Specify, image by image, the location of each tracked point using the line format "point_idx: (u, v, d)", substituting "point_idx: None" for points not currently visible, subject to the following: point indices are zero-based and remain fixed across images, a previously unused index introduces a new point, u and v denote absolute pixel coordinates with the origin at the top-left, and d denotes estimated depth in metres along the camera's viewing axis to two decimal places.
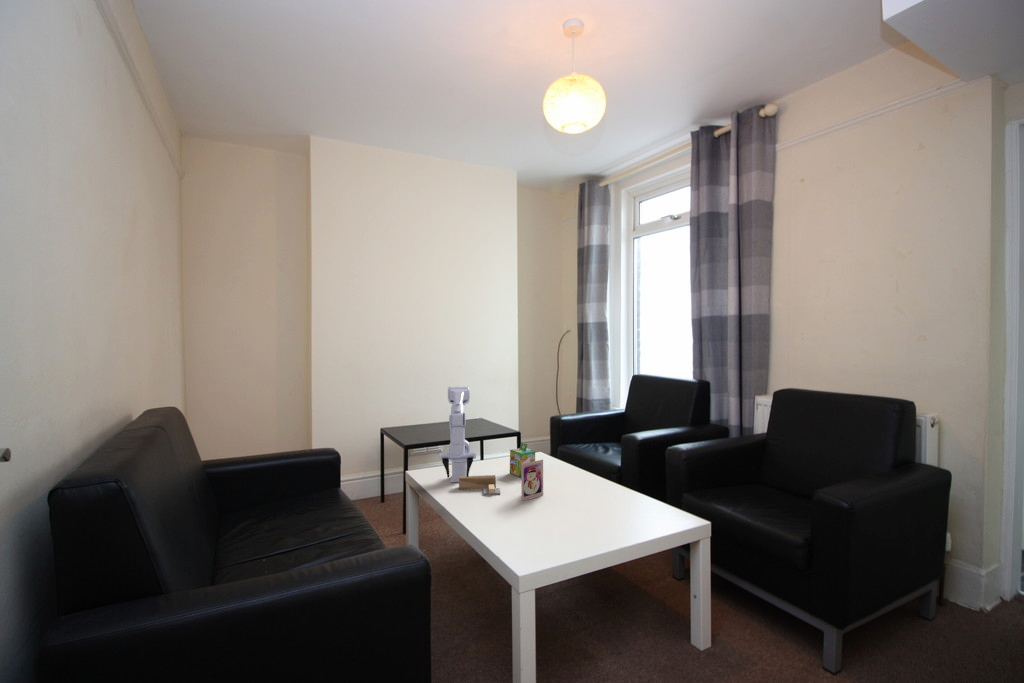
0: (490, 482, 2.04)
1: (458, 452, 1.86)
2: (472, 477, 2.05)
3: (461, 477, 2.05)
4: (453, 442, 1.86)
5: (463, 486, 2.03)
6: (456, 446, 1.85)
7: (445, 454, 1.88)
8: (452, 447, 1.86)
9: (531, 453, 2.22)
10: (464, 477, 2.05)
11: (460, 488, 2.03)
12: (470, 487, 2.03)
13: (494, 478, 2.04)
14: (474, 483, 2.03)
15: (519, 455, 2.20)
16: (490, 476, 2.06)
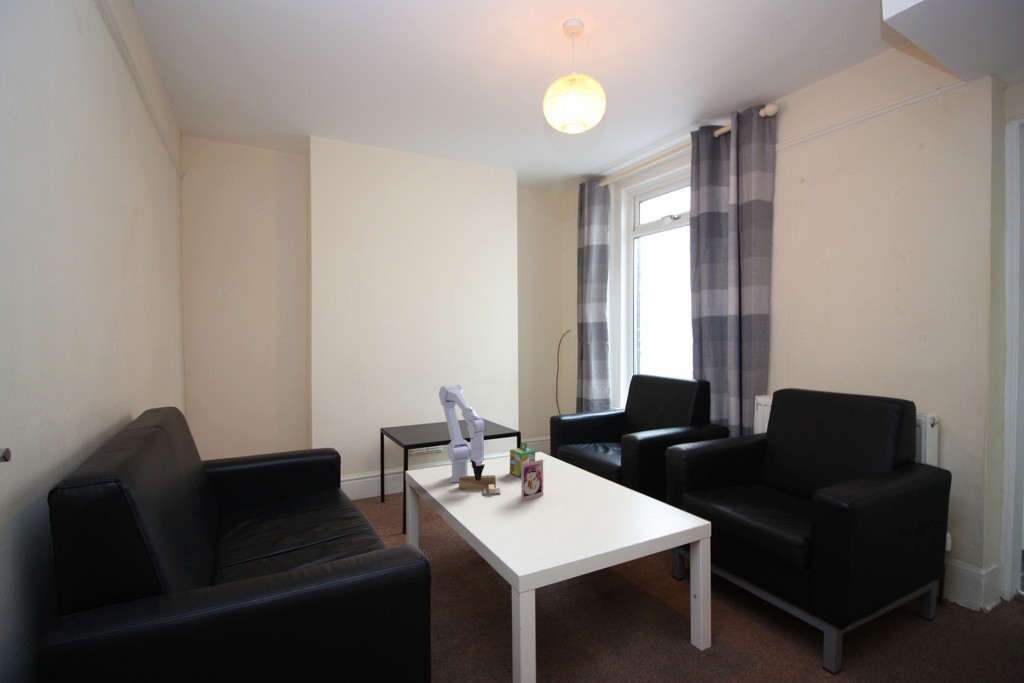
0: (490, 482, 2.04)
1: (470, 454, 2.04)
2: (472, 477, 2.05)
3: (461, 477, 2.05)
4: (477, 446, 2.02)
5: (463, 486, 2.03)
6: None
7: None
8: None
9: (531, 453, 2.22)
10: (464, 477, 2.05)
11: (460, 488, 2.03)
12: (470, 487, 2.03)
13: (494, 478, 2.04)
14: (474, 483, 2.03)
15: (519, 455, 2.20)
16: (490, 476, 2.06)
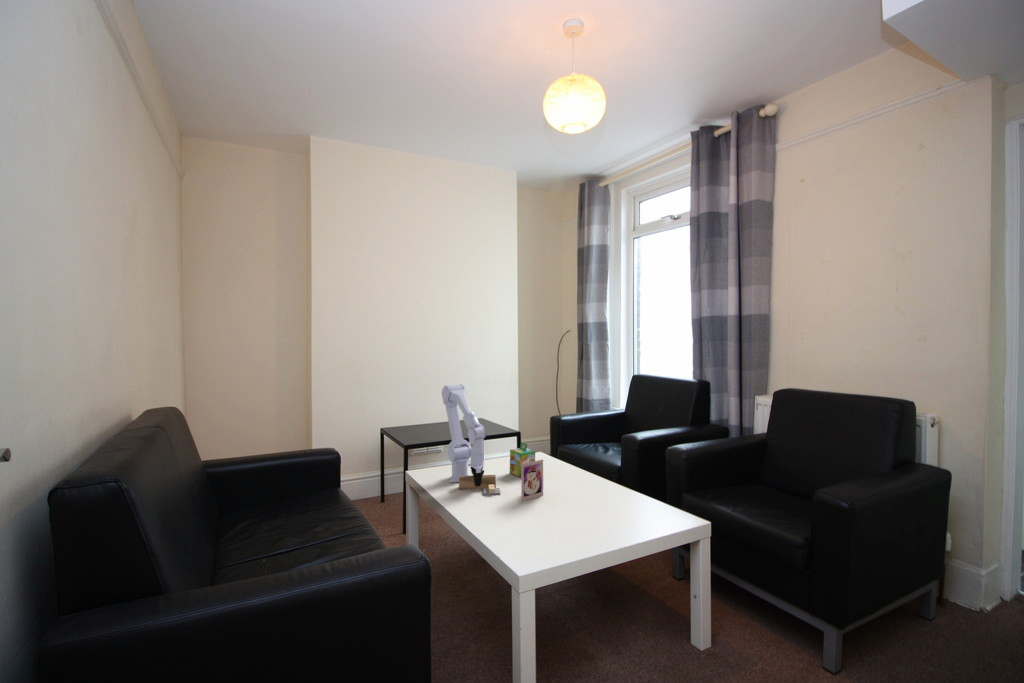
0: (490, 482, 2.04)
1: None
2: (472, 477, 2.04)
3: (461, 477, 2.05)
4: (477, 453, 2.02)
5: (463, 485, 2.03)
6: None
7: None
8: None
9: (531, 453, 2.22)
10: (464, 477, 2.05)
11: (460, 488, 2.03)
12: (470, 487, 2.03)
13: (494, 478, 2.04)
14: (474, 482, 2.03)
15: (519, 455, 2.20)
16: (490, 475, 2.06)
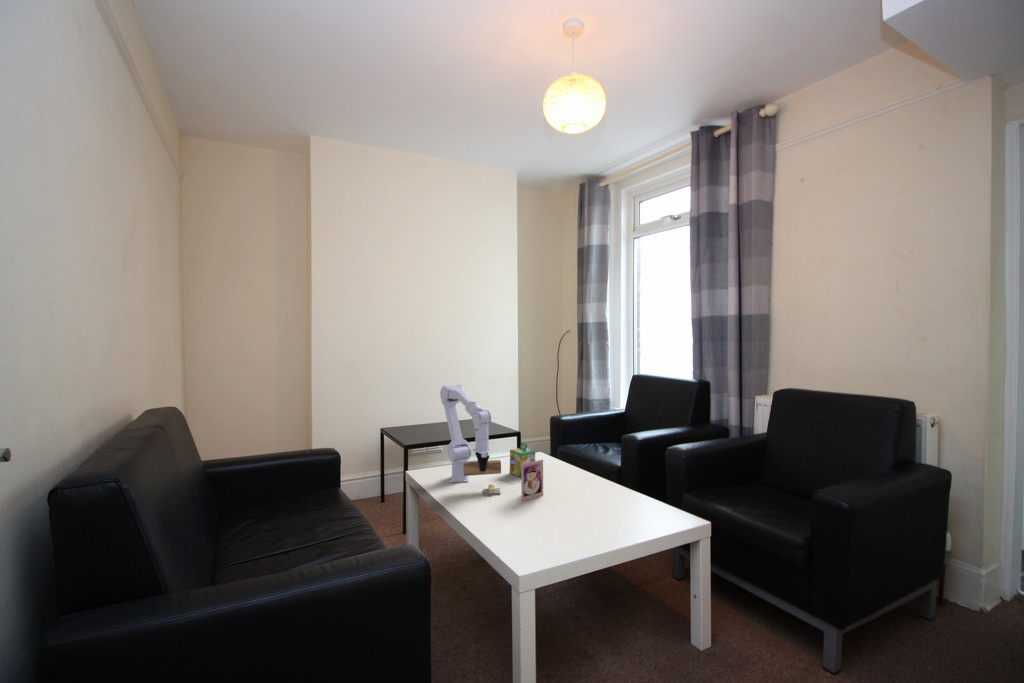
0: (495, 467, 2.02)
1: None
2: (477, 462, 2.02)
3: (466, 462, 2.02)
4: (482, 438, 2.00)
5: (469, 471, 2.00)
6: (475, 440, 2.02)
7: None
8: None
9: (531, 453, 2.22)
10: (469, 462, 2.02)
11: (465, 473, 2.00)
12: (475, 472, 2.00)
13: (499, 463, 2.02)
14: None
15: (519, 455, 2.20)
16: (495, 461, 2.04)
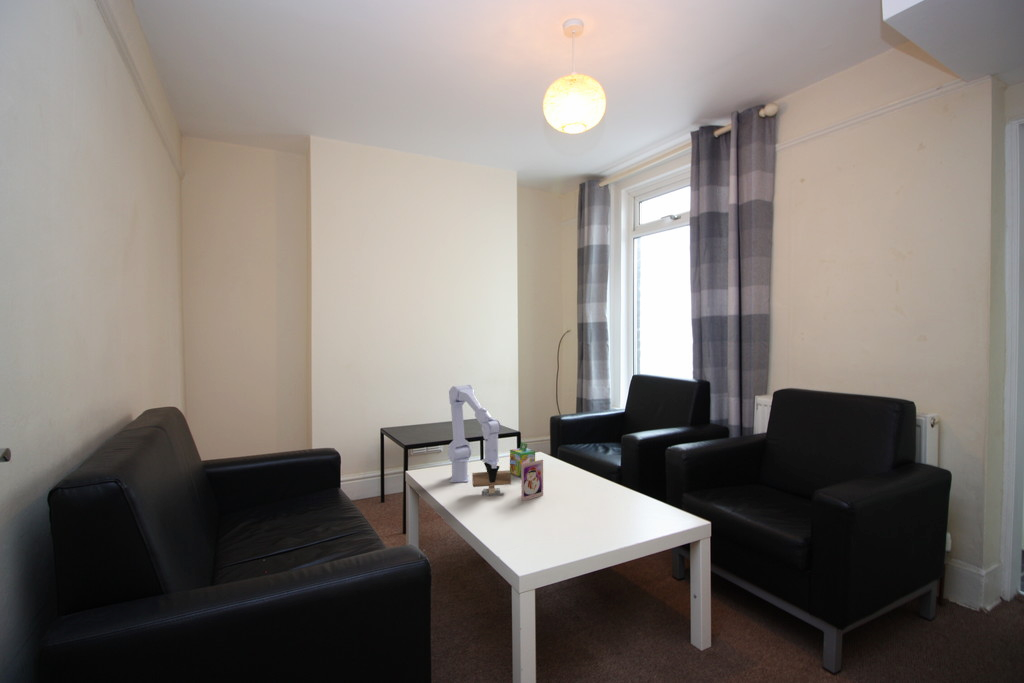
0: (505, 477, 1.98)
1: (485, 456, 1.98)
2: (486, 473, 1.98)
3: (475, 473, 1.97)
4: (492, 448, 1.96)
5: (478, 482, 1.96)
6: None
7: None
8: None
9: (531, 453, 2.22)
10: (478, 473, 1.97)
11: (474, 485, 1.95)
12: (485, 483, 1.96)
13: (509, 473, 1.98)
14: None
15: (519, 455, 2.20)
16: (505, 471, 2.00)
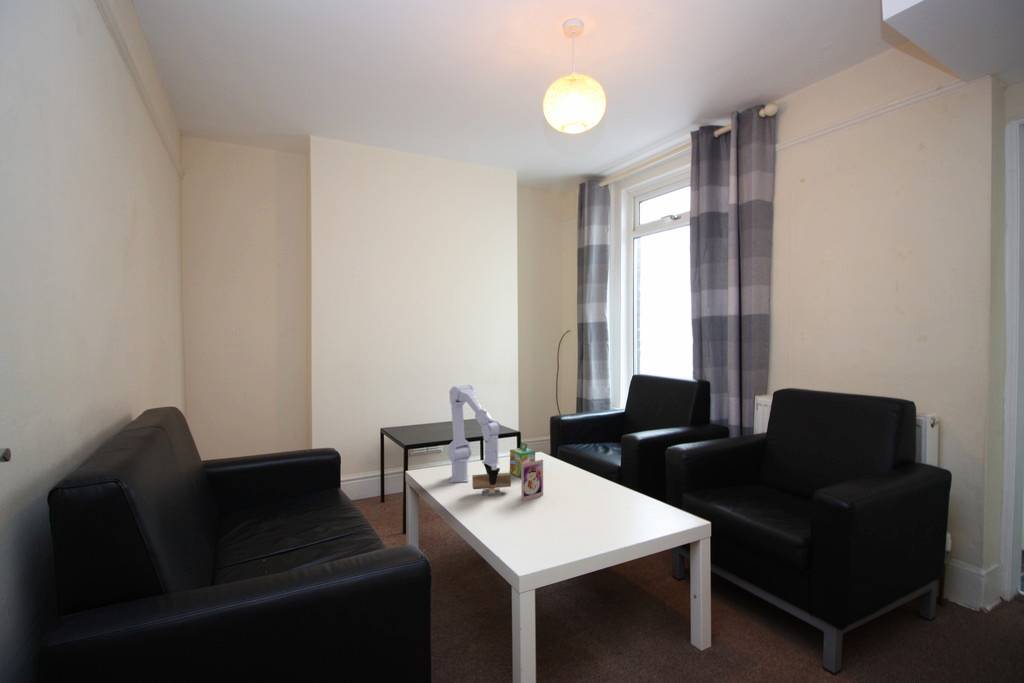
0: (505, 480, 1.98)
1: (485, 458, 1.98)
2: (486, 475, 1.98)
3: (475, 476, 1.97)
4: (492, 450, 1.96)
5: (478, 485, 1.96)
6: None
7: None
8: None
9: (531, 453, 2.22)
10: (478, 475, 1.97)
11: (474, 487, 1.96)
12: (485, 486, 1.96)
13: (509, 476, 1.98)
14: (489, 481, 1.97)
15: (519, 455, 2.20)
16: (505, 473, 2.00)
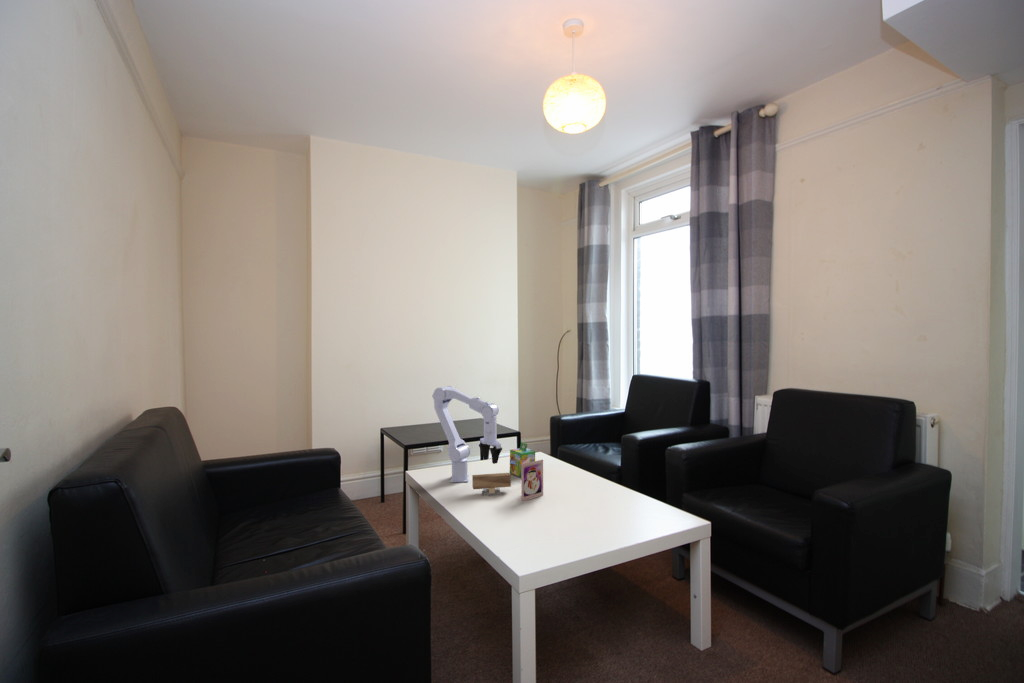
0: (505, 480, 1.98)
1: (485, 438, 2.07)
2: (486, 475, 1.98)
3: (475, 476, 1.97)
4: (493, 430, 2.07)
5: (478, 485, 1.96)
6: (484, 433, 2.08)
7: (484, 439, 2.13)
8: None
9: (531, 453, 2.22)
10: (478, 475, 1.97)
11: (474, 487, 1.96)
12: (485, 486, 1.96)
13: (509, 476, 1.98)
14: (489, 481, 1.97)
15: (519, 455, 2.20)
16: (505, 473, 2.00)
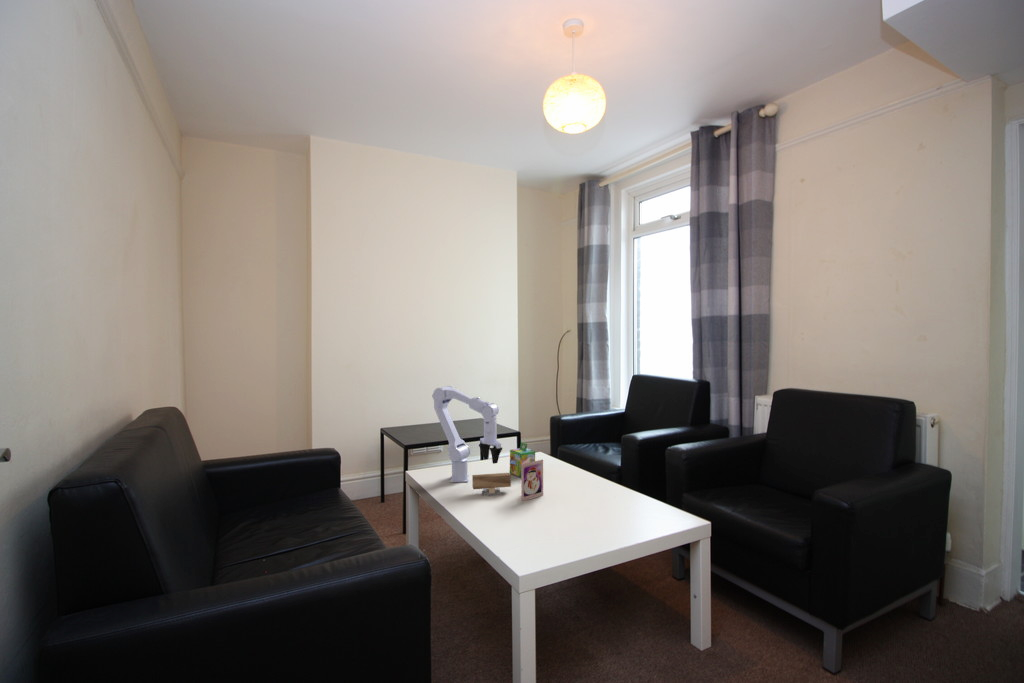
0: (505, 480, 1.98)
1: (485, 438, 2.07)
2: (486, 475, 1.98)
3: (475, 476, 1.97)
4: (493, 430, 2.07)
5: (478, 485, 1.96)
6: (484, 433, 2.08)
7: (484, 439, 2.13)
8: None
9: (531, 453, 2.22)
10: (478, 475, 1.97)
11: (474, 487, 1.96)
12: (485, 486, 1.96)
13: (509, 476, 1.98)
14: (489, 481, 1.97)
15: (519, 455, 2.20)
16: (505, 473, 2.00)
